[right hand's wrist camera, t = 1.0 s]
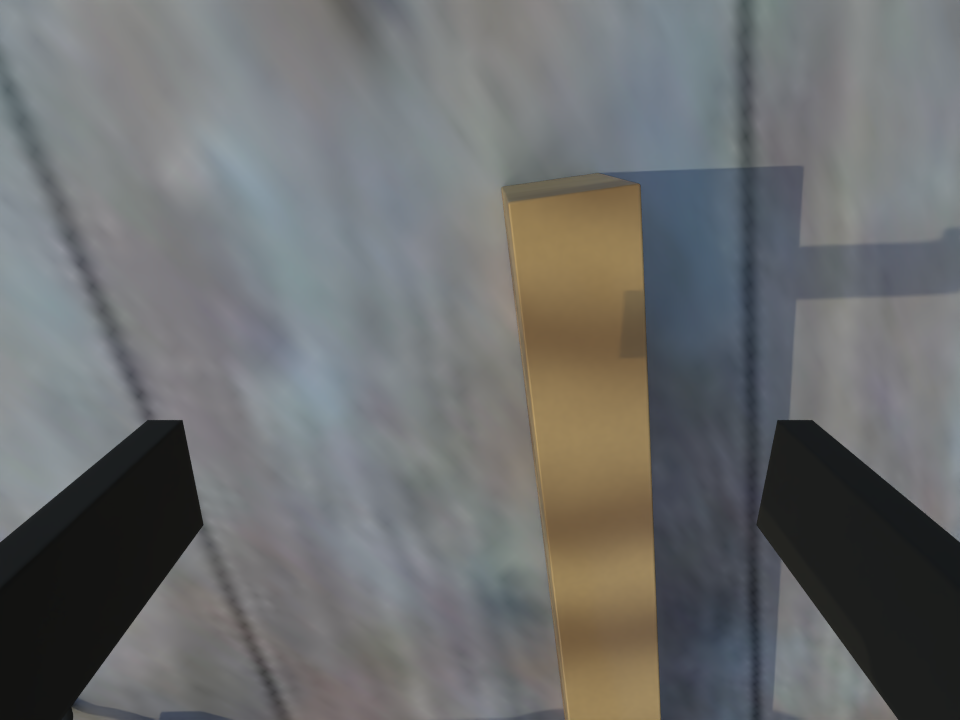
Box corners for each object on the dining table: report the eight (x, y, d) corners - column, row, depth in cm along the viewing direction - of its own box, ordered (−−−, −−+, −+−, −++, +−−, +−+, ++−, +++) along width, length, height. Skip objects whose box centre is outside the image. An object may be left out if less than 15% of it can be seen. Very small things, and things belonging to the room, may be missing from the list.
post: (500, 186, 27) (507, 202, 20) (599, 172, 27) (641, 183, 20) (589, 923, 49) (608, 1056, 41) (645, 918, 48) (673, 1052, 41)
